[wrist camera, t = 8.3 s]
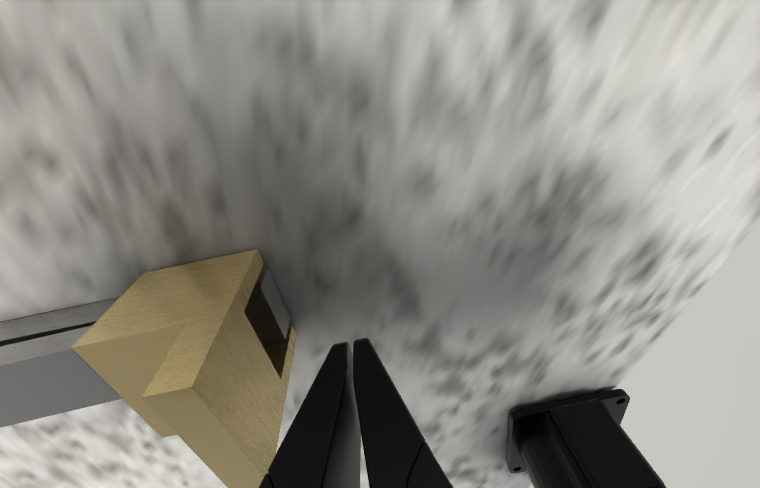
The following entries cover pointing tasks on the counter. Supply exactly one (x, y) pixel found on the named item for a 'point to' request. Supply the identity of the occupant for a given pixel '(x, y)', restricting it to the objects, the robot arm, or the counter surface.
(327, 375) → the robot arm
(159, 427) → the collar
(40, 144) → the counter surface
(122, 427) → the counter surface
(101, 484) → the counter surface
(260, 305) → the tong base
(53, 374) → the upper tong arm
